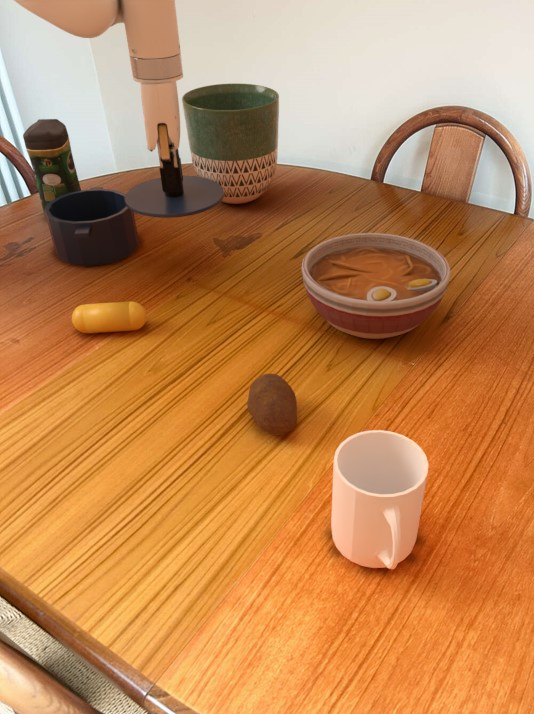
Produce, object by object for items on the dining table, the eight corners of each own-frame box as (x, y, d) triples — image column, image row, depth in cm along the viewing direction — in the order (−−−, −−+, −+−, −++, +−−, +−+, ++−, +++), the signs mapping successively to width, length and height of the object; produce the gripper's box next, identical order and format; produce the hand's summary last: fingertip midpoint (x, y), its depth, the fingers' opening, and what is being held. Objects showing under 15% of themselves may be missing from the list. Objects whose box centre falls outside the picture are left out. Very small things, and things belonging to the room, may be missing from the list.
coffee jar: (51, 204, 144) (29, 115, 132) (88, 203, 144) (68, 115, 132) (40, 223, 136) (15, 131, 124) (79, 222, 137) (57, 130, 125)
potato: (259, 449, 84) (256, 412, 80) (240, 403, 91) (236, 367, 87) (307, 438, 85) (307, 401, 81) (285, 393, 93) (284, 357, 89)
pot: (46, 275, 119) (34, 231, 114) (65, 225, 135) (55, 185, 130) (133, 270, 120) (125, 227, 115) (142, 221, 137) (135, 181, 131)
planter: (292, 187, 150) (291, 87, 137) (263, 222, 136) (259, 114, 122) (214, 178, 155) (205, 80, 141) (178, 211, 141) (165, 105, 127)
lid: (121, 224, 104) (111, 176, 100) (130, 184, 117) (122, 140, 112) (225, 218, 106) (221, 171, 101) (223, 179, 118) (219, 136, 114)
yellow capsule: (73, 340, 103) (66, 315, 100) (77, 324, 107) (71, 299, 104) (147, 335, 104) (143, 310, 101) (149, 319, 108) (145, 295, 105)
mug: (388, 493, 78) (397, 420, 70) (445, 570, 69) (462, 496, 62) (316, 519, 75) (317, 445, 67) (367, 603, 66) (375, 529, 59)
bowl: (454, 360, 98) (464, 302, 92) (302, 361, 98) (302, 303, 92) (430, 283, 116) (437, 231, 110) (301, 284, 116) (300, 232, 110)
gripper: (136, 55, 104) (153, 170, 116) (126, 82, 92) (147, 208, 103) (183, 53, 105) (196, 167, 117) (180, 80, 92) (195, 205, 104)
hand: (173, 185), depth 110 cm, fingers closed on lid, 3 cm apart
